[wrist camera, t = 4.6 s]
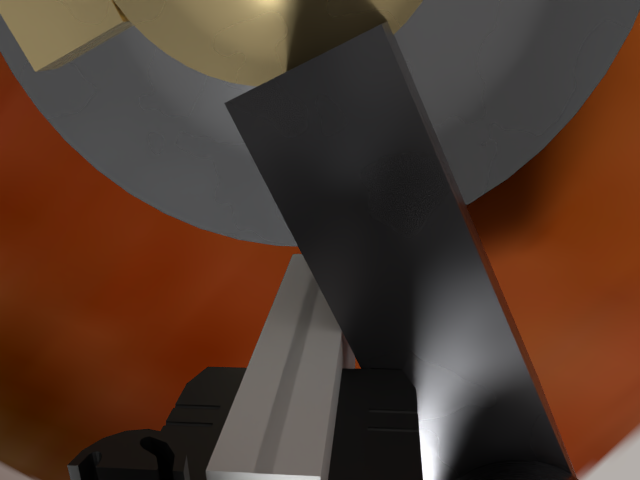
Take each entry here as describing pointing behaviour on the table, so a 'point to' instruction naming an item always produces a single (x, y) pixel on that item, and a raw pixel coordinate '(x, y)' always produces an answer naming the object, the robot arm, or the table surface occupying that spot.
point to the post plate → (211, 93)
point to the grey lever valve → (354, 202)
